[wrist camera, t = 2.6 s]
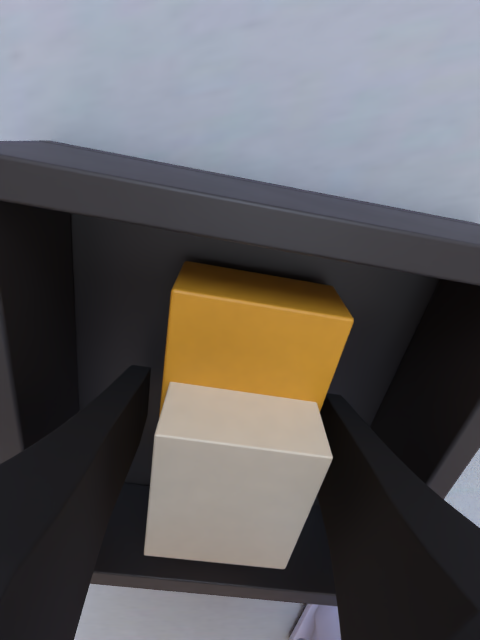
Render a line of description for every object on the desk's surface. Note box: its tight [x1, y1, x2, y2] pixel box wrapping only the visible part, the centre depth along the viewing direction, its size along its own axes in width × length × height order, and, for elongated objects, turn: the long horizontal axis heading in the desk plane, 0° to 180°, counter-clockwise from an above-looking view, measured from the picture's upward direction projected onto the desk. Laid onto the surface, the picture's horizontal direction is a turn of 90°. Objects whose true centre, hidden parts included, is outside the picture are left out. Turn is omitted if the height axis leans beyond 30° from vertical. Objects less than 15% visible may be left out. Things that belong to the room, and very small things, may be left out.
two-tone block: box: [144, 261, 354, 569], centre depth 10 cm, size 9×4×5 cm, turn 170°
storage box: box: [0, 141, 480, 606], centre depth 11 cm, size 14×13×4 cm
